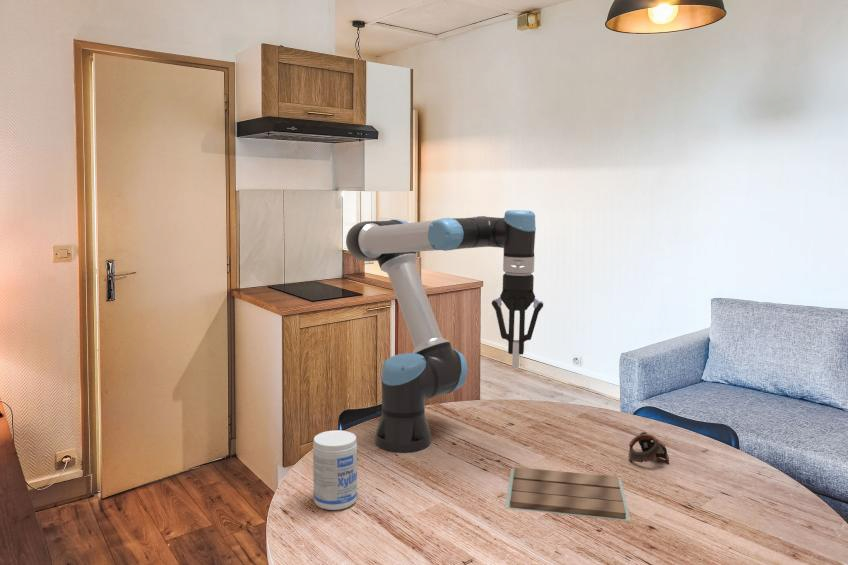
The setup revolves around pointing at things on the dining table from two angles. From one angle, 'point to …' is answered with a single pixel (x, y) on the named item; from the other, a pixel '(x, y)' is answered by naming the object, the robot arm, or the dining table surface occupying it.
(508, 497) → the underlay mat
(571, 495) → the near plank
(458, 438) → the dining table surface
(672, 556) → the dining table surface
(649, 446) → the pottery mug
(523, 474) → the far plank
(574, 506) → the laid strip
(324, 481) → the supplement tub
